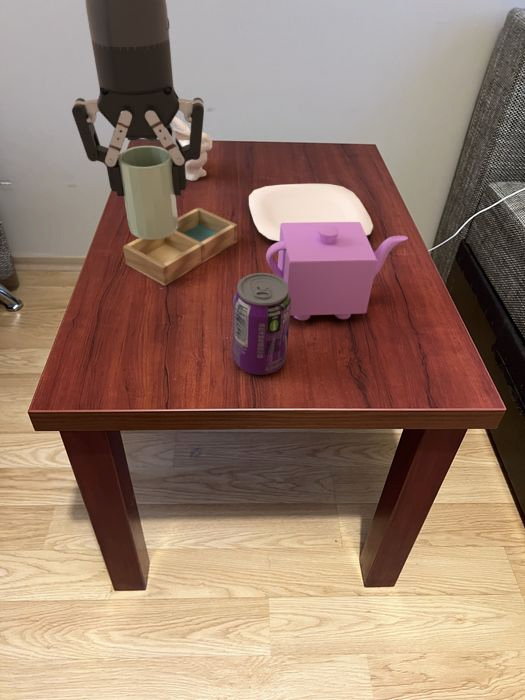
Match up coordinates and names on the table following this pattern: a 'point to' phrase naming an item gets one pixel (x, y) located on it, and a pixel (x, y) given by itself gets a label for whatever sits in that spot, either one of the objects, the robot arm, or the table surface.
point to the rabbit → (195, 166)
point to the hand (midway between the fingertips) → (150, 192)
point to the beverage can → (261, 323)
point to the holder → (181, 246)
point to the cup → (149, 191)
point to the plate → (304, 207)
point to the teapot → (328, 267)
